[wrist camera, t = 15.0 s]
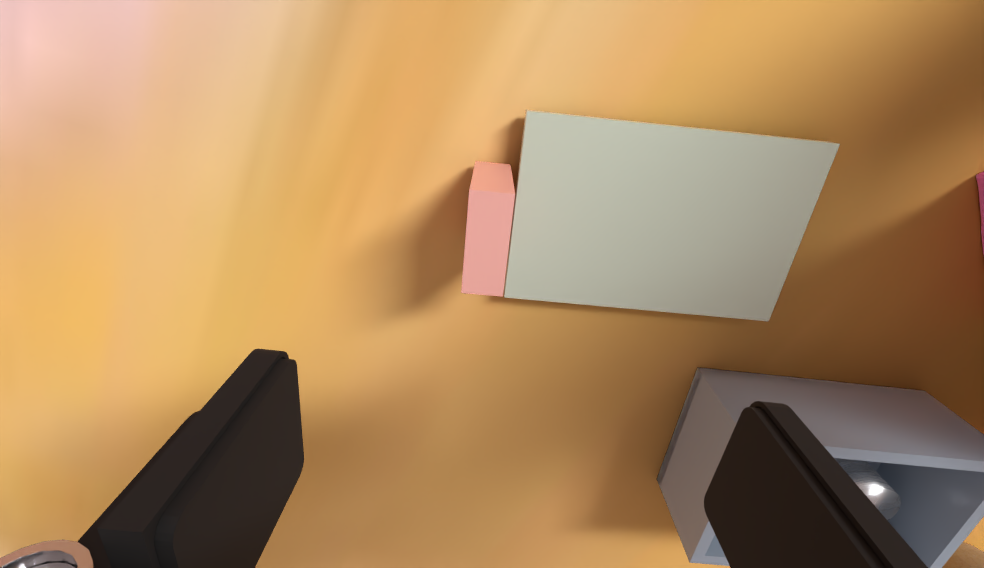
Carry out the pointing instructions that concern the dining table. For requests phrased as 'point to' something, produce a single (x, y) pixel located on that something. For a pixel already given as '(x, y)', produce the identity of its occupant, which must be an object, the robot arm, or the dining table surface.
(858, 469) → the grey metal part
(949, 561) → the plant pot
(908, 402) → the tub
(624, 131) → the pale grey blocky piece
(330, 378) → the dining table surface
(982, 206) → the gum box
